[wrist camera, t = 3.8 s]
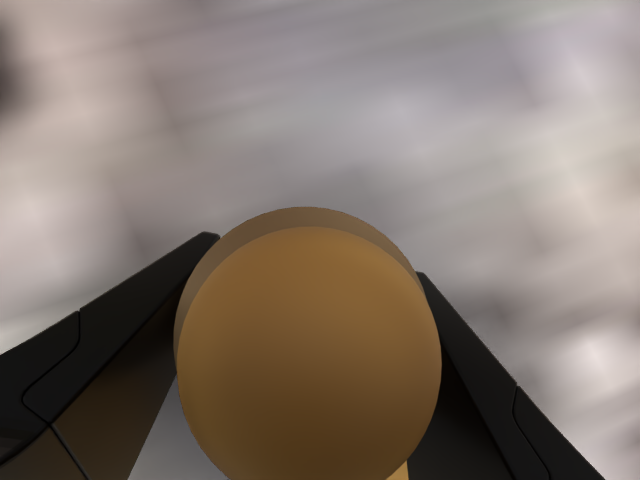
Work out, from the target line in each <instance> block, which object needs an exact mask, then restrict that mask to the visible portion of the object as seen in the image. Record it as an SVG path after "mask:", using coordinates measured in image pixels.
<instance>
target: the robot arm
mask: <svg viewBox="0 0 640 480" xmlns="http://www.w3.org/2000/svg"><path fill="white" fill-rule="evenodd" d="M219 239H220V236H219V235H218V234H215V233H210V232H201V233H200V234H198V235H196V236H195V237H193V238H192V239H190V240H188V241H187V242H185V243H184V244H182V245H180V246H179V247H177V248H176V249H174V250H172V251H171V252H169V253H168V254H166V255H165V256H163V257H161V258H160V259H158V260H157V261H155V262H153V263H152V264H150V265H149V266H147V267H145V268H144V269H142V270H141V271H139V272H137V273H136V274H134V275H133V276H131V277H129V278H128V279H126V280H125V281H123V282H121V283H120V284H118V285H117V286H115V287H113V288H112V289H110V290H109V291H107V292H105V293H104V294H102V295H101V296H99V297H97V298H96V299H94V300H93V301H91V302H89V303H88V304H86V305H85V306H83V307H81V308H80V310H79V311H75V312H73V313H72V314H70V315H68V316H67V317H65V318H64V319H62V320H60V321H59V322H57V323H55V324H54V325H52V326H50V327H49V328H47V329H45V330H44V331H42V332H40V333H39V334H37V335H35V336H34V337H32V338H30V339H28V340H27V341H25V342H23V343H21V344H19V345H18V346H16V347H14V348H12V349H10V350H8V351H7V352H5V353H3V354H1V355H0V480H127V479H128V477H129V475H130V473H131V471H132V469H133V466H134V464H135V462H136V460H137V458H138V456H139V453H140V451H141V449H142V447H143V445H144V443H145V441H146V438H147V436H148V434H149V432H150V430H151V428H152V425H153V423H154V421H155V419H156V417H157V415H158V413H159V410H160V408H161V406H162V404H163V402H164V400H165V397H166V395H167V393H168V391H169V389H170V387H171V385H172V382H173V380H174V378H175V376H176V374H177V370H176V366H175V358H174V349H173V344H174V325H175V318H176V312H177V309H178V305H179V302H180V298H181V295H182V293H183V290H184V288H185V286H186V283H187V281H188V279H189V277H190V276H191V274H192V272H193V271H194V269H195V267H196V265H197V264H198V263H199V262H200V260H201V259H202V258H203V256H204V255H205V254H206V252H207V251H208V250H209V249H210V248H211V247H212V246H213V245H214V244H215V243H216V242H217V241H218V240H219ZM415 272H416V274H417V276H418V278H419V281H420V283H421V285H422V287H423V290H424V293H425V296H426V299H427V302H428V305H429V308H430V310H431V312H432V315H433V318H434V321H435V324H436V327H437V331H438V336H439V341H440V346H441V361H442V366H441V382H440V387H439V393H438V398H437V403H436V406H435V409H434V412H433V415H432V419H431V421H430V423H429V425H428V427H427V430H426V432H425V434H424V436H423V437H422V439H421V441H420V442H419V444H418V445H417V447H416V449H415V450H414V451H413V453H412V454H411V455H410V456H409V458H408V459H407V460H406V461H407V470H408V480H605V479H604V478H603V477H602V476H601V475H600V473H599V472H598V471H597V470H596V469H595V468H594V467H593V466H592V465H591V464H590V463H589V462H588V461H587V460H586V459H585V458H584V457H583V456H582V455H581V454H580V453H579V452H578V451H577V450H576V449H575V447H574V446H573V445H572V444H571V443H570V442H569V441H568V440H567V439H566V438H565V437H564V436H563V435H562V434H561V433H560V431H559V430H558V429H557V428H556V427H555V426H554V425H553V424H552V423H551V422H550V421H549V419H548V418H547V417H546V416H545V415H544V414H543V413H542V411H541V410H540V409H539V408H538V407H537V406H536V405H535V403H534V402H533V401H532V400H531V399H530V398H529V396H528V395H527V394H526V393H525V392H524V390H523V389H522V388H521V387H520V386H517V382H516V381H515V380H514V379H513V378H512V376H511V375H510V374H509V373H508V372H507V371H506V369H505V368H504V367H503V366H502V365H501V363H500V362H499V361H498V360H497V359H496V358H495V356H494V355H493V354H492V353H491V352H490V350H489V349H488V348H487V347H486V346H485V345H484V343H483V342H482V341H481V340H480V339H479V337H478V336H477V335H476V334H475V333H474V331H473V330H472V329H471V328H470V327H469V326H468V324H467V323H466V322H465V321H464V320H463V318H462V317H461V316H460V315H459V314H458V313H457V311H456V310H455V309H454V308H453V307H452V305H451V304H450V303H449V302H448V301H447V300H446V298H445V297H444V296H443V295H442V294H441V292H440V291H439V290H438V289H437V288H436V287H435V285H434V284H433V283H432V282H431V281H430V279H429V278H428V277H427V276H426V275H425V274H424V273H422V272H418V271H415Z"/></svg>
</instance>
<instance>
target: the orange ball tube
mask: <svg viewBox="0 0 640 480" xmlns="http://www.w3.org/2000/svg"><path fill="white" fill-rule="evenodd" d="M173 349H174V358H175V366H176V370H177V380H178V388H179V396H180V400H181V404H182V408H183V412H184V415H185V417H186V420H187V422H188V425H189V427H190V430H191V432H192V434H193V435H194V437H195V439H196V441H197V442H198V444H199V446H200V447H201V449H202V450H203V451H204V452H205V454H206V455H207V456H208V458H209V459H210V460H211V461H212V463H213V464H214V465H215V466H216V467H217V468H218V469H219V470H220V471H222V472H223V473H224V474H225V475H226V476H227V477H228V478H229V479H231V480H386V479H387V478H388V477H390V476H391V475H392V474H393V473H394V472H395V471H396V470H397V469H398V468H399V467H401V466H402V465H403V464H404V463H405V461H406V460H407V459H408V458H409V456H410V455H411V454H412V453H413V451H414V450H415V449H416V447H417V445H418V444H419V442H420V441H421V439H422V437H423V436H424V434H425V432H426V430H427V427H428V425H429V423H430V421H431V419H432V415H433V412H434V409H435V406H436V403H437V398H438V393H439V387H440V382H441V366H442V361H441V346H440V341H439V336H438V331H437V327H436V324H435V321H434V318H433V315H432V312H431V310H430V308H429V305H428V302H427V299H426V296H425V293H424V290H423V287H422V285H421V283H420V281H419V278H418V276H417V274H416V272H415V271H414V269H413V268H412V266H411V264H410V263H409V261H408V260H407V258H406V257H405V256H404V255H403V253H402V252H401V251H400V250H399V249H398V247H397V246H396V245H395V244H394V243H392V242H391V241H390V240H389V239H388V238H387V237H386V236H385V235H384V234H382V233H381V232H380V231H378V230H377V229H375V228H374V227H373V226H371V225H369V224H367V223H365V222H364V221H362V220H360V219H358V218H356V217H353V216H350V215H348V214H345V213H343V212H339V211H335V210H330V209H325V208H317V207H292V208H286V209H279V210H275V211H272V212H268V213H264V214H261V215H259V216H257V217H254V218H252V219H250V220H247V221H246V222H244V223H242V224H241V225H239V226H237V227H235V228H234V229H232V230H231V231H230V232H228V233H227V234H226V235H224V236H223V237H222V238H221V239H219V240H218V241H217V242H216V243H215V244H214V245H213V246H212V247H211V248H210V249H209V250H208V251H207V252H206V254H205V255H204V256H203V258H202V259H201V260H200V262H199V263H198V264H197V265H196V267H195V269H194V271H193V272H192V274H191V276H190V277H189V279H188V281H187V283H186V286H185V288H184V290H183V293H182V295H181V298H180V302H179V305H178V309H177V312H176V318H175V325H174V344H173Z"/></svg>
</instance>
